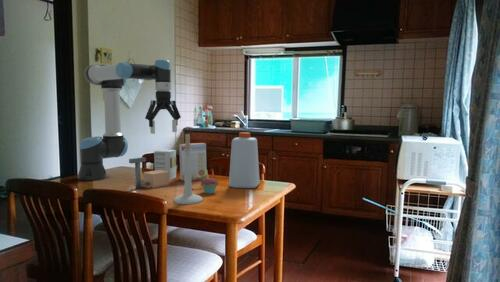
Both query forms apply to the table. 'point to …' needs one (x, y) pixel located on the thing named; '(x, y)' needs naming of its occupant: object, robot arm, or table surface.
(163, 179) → the tan rectangular block
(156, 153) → the supplement box
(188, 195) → the candlestick
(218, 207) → the table surface
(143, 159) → the t key
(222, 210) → the table surface
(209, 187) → the cupcake
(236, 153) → the plastic bottle
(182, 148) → the cracker box
